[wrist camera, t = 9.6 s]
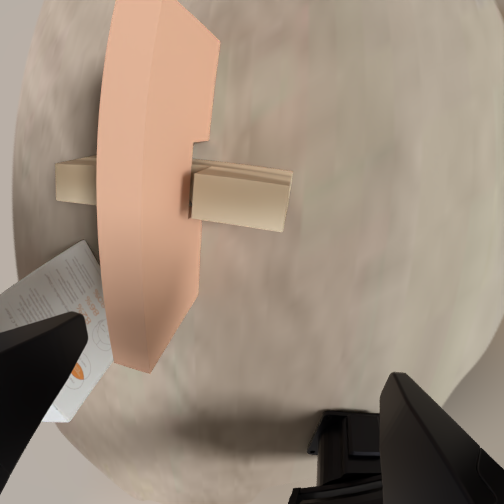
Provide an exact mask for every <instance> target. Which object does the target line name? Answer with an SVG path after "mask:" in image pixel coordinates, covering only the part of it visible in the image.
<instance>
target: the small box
mask: <svg viewBox="0 0 504 504" xmlns="http://www.w3.org/2000/svg"><path fill="white" fill-rule="evenodd" d="M70 311H74V312H77V313H81V314H82V315H83V316H84V318H85V322H86V327H87V332H88V342H87V344H86V346H85V348H84V350H83V352H82V354H81V356H80V357H79V359H78V361H77V363H76V365H75V367H74V369H73V371H72V373H71V375H70V376H69V378H68V380H67V382H66V383H65V385H64V386H63V388H62V389H61V391H60V393H59V394H58V396H57V397H56V399H55V400H54V402H53V403H52V405H51V407H50V408H49V410H48V411H47V413H46V415H45V416H44V418H43V420H42V421H41V422H70V421H71V419H72V418H73V417H74V415H75V414H76V412H77V411H78V409H79V408H80V406H81V405H82V404H83V402H84V401H85V399H86V398H87V397H88V395H89V394H90V392H91V391H92V389H93V388H94V387H95V385H96V384H97V383H98V381H99V380H100V378H101V377H102V376H103V374H104V373H105V372H106V370H107V369H108V367H109V366H110V365H111V363H112V362H113V361H114V360H113V354H112V349H111V343H110V337H109V331H108V325H107V318H106V311H105V304H104V296H103V288H102V278H101V268H100V265H99V264H98V262H97V260H96V259H95V257H94V255H93V253H92V252H91V250H90V248H89V246H88V244H87V243H86V241H85V240H82V241H80V242H78V243H77V244H75V245H73V246H72V247H70V248H69V249H67V250H65V251H64V252H62V253H61V254H59V255H57V256H56V257H54V258H53V259H51V260H50V261H48V262H47V263H45V264H44V265H42V266H41V267H39V268H38V269H36V270H35V271H33V272H32V273H30V274H29V275H27V276H26V277H24V278H23V279H21V280H20V281H18V282H17V283H16V284H15V285H13V286H11V287H10V288H9V289H7V290H6V291H4V292H3V293H2V294H0V333H1V332H4V331H7V330H11V329H14V328H17V327H21V326H24V325H27V324H31V323H34V322H37V321H40V320H44V319H47V318H50V317H54V316H57V315H60V314H63V313H67V312H70Z"/></svg>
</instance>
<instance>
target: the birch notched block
mask: <svg viewBox="0 0 504 504" xmlns="http://www.w3.org/2000/svg"><path fill="white" fill-rule="evenodd" d="M96 175H97V155H94V156H89V157H84V158H79V159H75V160H70V161H66V162H61V163H57V164H55V181H56V201H64V202H73V203H81V204H89V205H97V188H96ZM292 175H293V171H288V170H281V169H274V168H267V167H260V166H252V165H244V164H236V163H228V162H219V161H209V160H199V159H192V166H191V179H190V194H189V202H192V219H199V220H205V221H212V222H219V223H225V224H232V225H238V226H245V227H251V228H258V229H264V230H270V231H277V232H283V228H284V223H285V218H286V213H287V209H288V203H289V196H290V189H291V182H292Z"/></svg>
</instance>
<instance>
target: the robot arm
mask: <svg viewBox="0 0 504 504" xmlns="http://www.w3.org/2000/svg"><path fill="white" fill-rule="evenodd" d="M87 342H88V332H87V327H86V322H85V318H84V316H83V315H82V314H81V313H77V312H74V311H70V312H67V313H63V314H60V315H57V316H54V317H50V318H47V319H44V320H40V321H37V322H34V323H31V324H27V325H24V326H21V327H17V328H14V329H11V330H7V331H4V332H1V333H0V494H1V492H2V490H3V488H4V487H5V485H6V483H7V481H8V479H9V477H10V475H11V473H12V471H13V469H14V468H15V466H16V464H17V462H18V460H19V459H20V457H21V455H22V453H23V451H24V449H25V448H26V446H27V444H28V443H29V441H30V439H31V438H32V436H33V434H34V433H35V431H36V429H37V428H38V426H39V424H40V423H41V421H42V420H43V418H44V416H45V415H46V413H47V411H48V410H49V408H50V407H51V405H52V403H53V402H54V400H55V399H56V397H57V396H58V394H59V393H60V391H61V389H62V388H63V386H64V385H65V383H66V382H67V380H68V378H69V376H70V375H71V373H72V371H73V369H74V367H75V365H76V363H77V361H78V359H79V357H80V356H81V354H82V352H83V350H84V348H85V346H86V344H87ZM307 453H308V454H311V455H318V461H317V486H316V487H308V488H293V491H292V494H291V496H290V498H289V502H288V504H504V469H503V468H502V467H501V466H500V465H499V464H497V463H496V462H495V461H494V460H493V459H492V458H491V457H490V456H489V455H488V454H487V453H486V452H485V451H484V450H483V449H482V448H480V446H479V445H478V444H477V443H476V442H475V441H474V440H473V439H472V438H471V437H470V436H469V435H468V434H467V433H466V432H465V431H464V430H463V429H462V428H461V427H460V426H459V425H458V424H457V423H456V422H455V421H454V420H453V419H452V418H451V417H450V416H449V415H448V414H447V413H446V412H445V411H444V410H443V409H442V408H441V407H440V406H439V405H438V404H437V403H436V402H435V401H434V400H433V399H432V398H431V397H430V396H429V395H428V394H427V393H426V392H425V391H424V390H423V389H422V388H421V387H420V386H419V385H418V384H416V383H415V382H414V381H413V380H412V379H411V378H410V377H409V376H408V375H407V374H406V373H402V372H393V373H391V374H390V375H389V377H388V380H387V382H386V384H385V386H384V388H383V390H382V393H381V396H380V415H378V414H360V413H347V412H335V411H326V412H324V413H323V415H322V417H321V419H320V422H319V424H318V426H317V429H316V431H315V433H314V435H313V437H312V440H311V442H310V444H309V446H308V448H307Z"/></svg>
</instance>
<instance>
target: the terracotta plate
mask: <svg viewBox="0 0 504 504" xmlns="http://www.w3.org/2000/svg"><path fill="white" fill-rule="evenodd" d="M219 49H220V41H219V40H218V39H217V38H216V37H215V36H214V35H213V34H212V33H211V32H210V31H209V30H208V29H207V28H206V27H205V26H204V25H203V24H202V23H201V22H199V21H198V20H197V19H196V18H195V17H194V16H193V15H192V14H191V13H190V12H189V11H188V10H187V9H185V8H184V7H183V6H182V5H181V4H180V3H179V2H178V1H177V0H116V2H115V7H114V11H113V16H112V21H111V26H110V32H109V37H108V43H107V49H106V56H105V63H104V70H103V78H102V87H101V97H100V108H99V121H98V138H97V175H96V188H97V225H98V243H99V257H100V268H101V278H102V288H103V296H104V304H105V311H106V318H107V325H108V331H109V337H110V343H111V349H112V354H113V360H114V363H117V364H120V365H123V366H126V367H129V368H132V369H136V370H139V371H142V372H145V373H149V374H150V373H151V372H152V370H153V368H154V367H155V365H156V363H157V362H158V360H159V358H160V357H161V355H162V353H163V352H164V350H165V348H166V347H167V345H168V343H169V342H170V340H171V339H172V337H173V335H174V334H175V332H176V330H177V329H178V327H179V325H180V324H181V322H182V321H183V319H184V317H185V316H186V314H187V312H188V311H189V309H190V308H191V306H192V304H193V303H194V301H195V299H196V298H197V296H198V290H199V268H200V249H201V232H202V220H199V219H192V206H189V194H190V179H191V166H192V153H193V142H201V141H209V134H210V124H211V115H212V106H213V97H214V88H215V80H216V72H217V64H218V57H219Z"/></svg>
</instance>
